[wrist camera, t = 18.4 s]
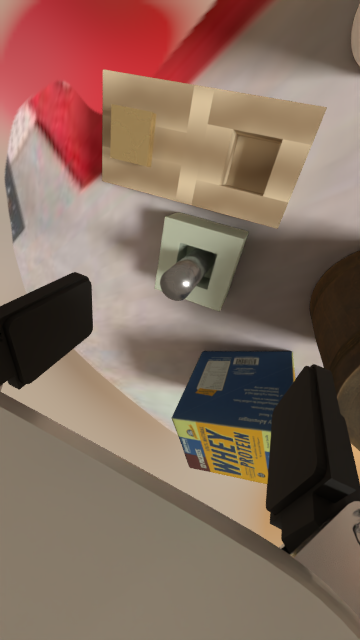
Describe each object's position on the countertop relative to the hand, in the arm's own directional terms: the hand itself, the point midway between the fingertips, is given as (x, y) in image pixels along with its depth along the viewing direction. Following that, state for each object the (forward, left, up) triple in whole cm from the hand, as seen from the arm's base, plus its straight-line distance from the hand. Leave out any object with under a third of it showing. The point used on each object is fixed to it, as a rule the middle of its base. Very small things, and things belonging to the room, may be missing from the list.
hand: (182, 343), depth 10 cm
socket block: (-7, -8, -26) cm, 28 cm away
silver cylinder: (+5, -5, -25) cm, 26 cm away
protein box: (+23, +8, -27) cm, 36 cm away
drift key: (-7, -14, -24) cm, 29 cm away
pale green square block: (+5, -5, -26) cm, 27 cm away
